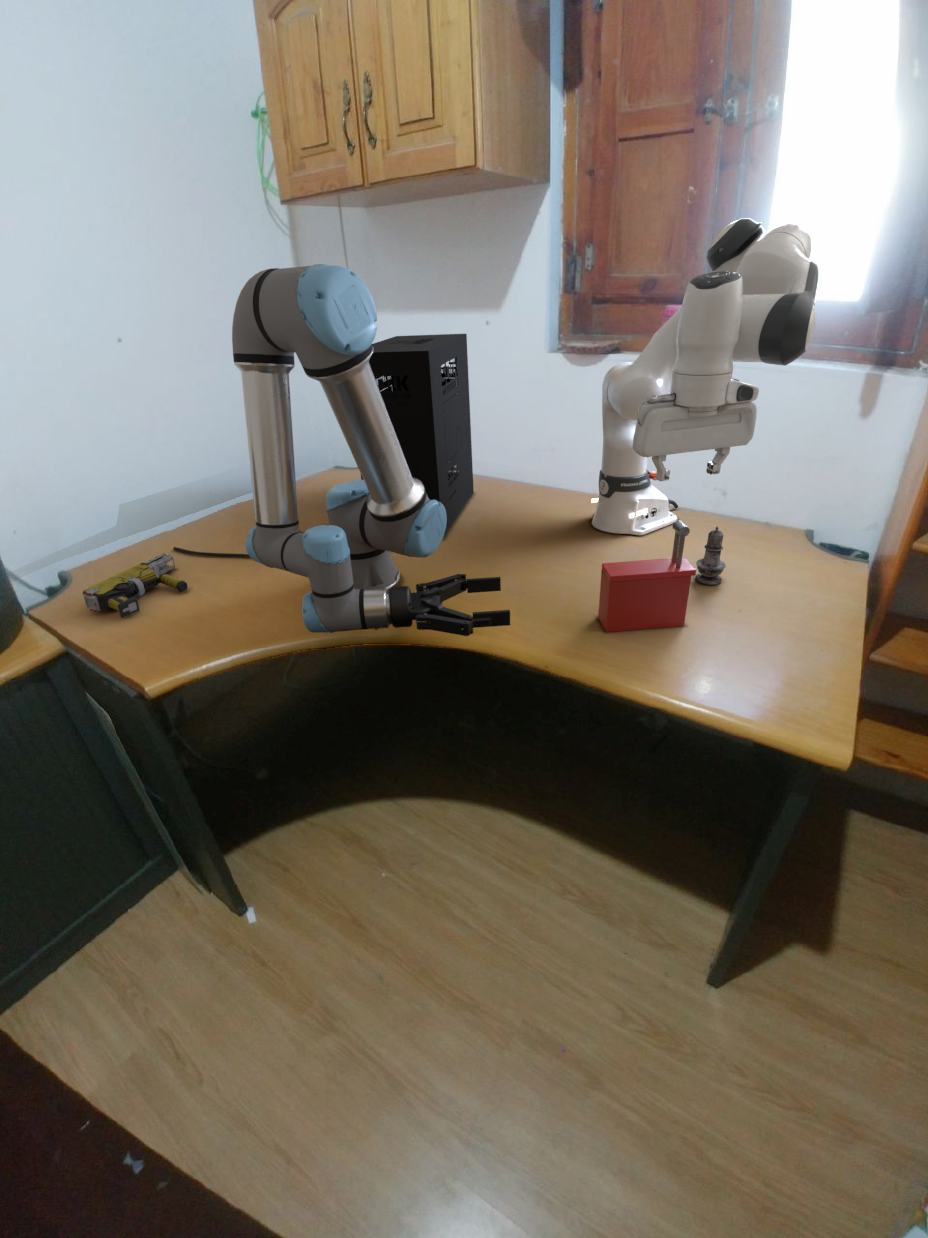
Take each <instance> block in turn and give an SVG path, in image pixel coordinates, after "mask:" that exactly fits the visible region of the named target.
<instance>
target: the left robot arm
mask: <svg viewBox="0 0 928 1238" xmlns="http://www.w3.org/2000/svg"><path fill="white" fill-rule="evenodd" d="M377 321H378V314H377V308H376V304H375V301H374V298H373V296H372V294H371V291H370V289H369V288H368V286H367V285H366V282H364V280H363V279H361V278H360V276H358V274H357V273H355V272H354V271H352V270H350V269H348V268H346V267H344V266H341V265H329V264H325V263H316V264H312V265H304V266H294V267H282V268H280V267H279V268H278V267H276V268H275V267H274V268H266V269H264V270H261V271H259V272H257V273H255V274H254V275H253V276H252V277H250V278H249V279H248V280H247V281H246V282H245V284H244V285H243V287H242V288H241V290H240V293H239V295H238V297H237V299H236V303H235V306H234V312H233V317H232V326H231V342H232V357H233V358H232V359H233V365H234V366H235V367H236V368H237V369H238V370H239V371H240V374H241V383H242V395H243V405H244V415H245V426H246V437H247V449H248V457H249V468H250V478H251V479H250V480H251V489H252V500H253V510H254V521H255V525H254V526H253V527H251V528H250V530H249V531H248V533H247V534H246V535H247V537H246V539H245V543H244V544H245V545H244V546H245V550H246V553H227V552H226V553H223V552H206V551H205V552H204V551H195V550H189V549H184V548H181V547H177V546H173V547H172V549H173V550H174V551H177V552H181V553H185V554H189V555H194V556H195V555H196V556H204V557H205V556H206V557H227V558H251V560H253V562H256V563H257V564H260V565H263V566H265V567H268V568H270V569H273V568H274V569H278V570H280V571H281V570H282V571H285V572H289V573H292V574H295V575H298V576H302V577H305V578H307V579H309V584H310V590H311V591H310V592H306V593H305V594H304V595H303V597H302V601H301V611H302V621H303V624H304V627H305V629H306V630H307V631H309V632H310V633H314V634H319V633H322V634H325V633H326V634H334V633H339V632H351V631H366V630H375V631H378V630H379V629H389V628H390V627H393V628H394V629H398V628H399V629H400V628H410V627H412V626H413V624H414V621H415V625H416V629H417V630H418V631H426V630H427V631H434V632H440V633H445V634H452V635H457V636H463V637H469V636H471V635H473V634H474V629H477V628H478V629H479V628H491V627H506V626H507V627H508V626H511V610H510V609H502V610H501V609H499V610H486V611H485V610H483V611H473V612H472V613H471V614H467V613H465V612H461V611H458V610H455V609H453V608H449V607H446V606H444V605H443V602H446V601H447V600H450V599H451V598H453V597H456V596H458V595H459V594H462V593H464V592H466V591H467V594H476V593H490V592H501V591H502V581H501V580H502V578H501V576H491V577H474V578H467V574H466V573H456V574H452V575H450V576H446V577H443V578H439V579H436V580H432V581H429V582H423V583H417V584H415V592H412V590H411V588H410V586H408V585H403V586H399V585H400V583H401V570H399V569H398V567H397V565H396V562H395V561H394V558H393V556H392V554H391V553H393V554H398V555H402V556H406V557H408V558H418V559H419V558H420V559H425V558H428V557H429V556H431V555H433V554H434V553H435V552H436V551H437V549H438V548H439V546H440V545H441V544H442V541H443V539H444V538H443V536H444V532H445V529H446V523H447V516H446V510H445V508H444V506H443V504H442V503H440V502H438V501H437V500H434V499H433V500H430V499H429V498H428V496H427V494H426V491H425V488H424V485H423V484H422V482H421V481H420V480H418V479H416V478H413V477H412V476H411V473H410V470H409V468H408V465H407V462H406V460H405V457H404V454H403V452H402V449H401V446H400V444H399V441H398V439H397V436H396V433H395V431H394V428H393V425H392V423H391V420H390V417H389V415H388V412H387V409H386V407H385V404H384V401H383V399H382V396H381V393H380V391H379V388H378V385H377V383H378V382H377V379H376V380H375V377H374V375H373V372H372V369H371V367H370V364H369V360H370V357H371V355H372V353H373V350H374V349H373V345H372V344H373V343H374V341H375V339H376V335H377V330H378V327H377V325H376V324H375V323H376V322H377ZM295 355H296V357H297V359H298V361H299V363H300V365H301V368H302V369H303V371H304V374H305V375H306V377H308V378H310V379H312V380H315V381H317V382H319V384H320V386H321V388H322V390H323V393H324V394H325V397H326V399H327V401H328V403H329V406H330V408H331V410H332V412H333V414H334V417H335V419H336V422H337V423H338V425H339V428H340V431H341V433H342V434H343V437H344V439H345V442H346V444H347V446H348V448H349V450H350V453H351V455H352V457H353V459H354V461H355V464H356V466H357V468H358V471H359V472H360V473H359V474H360V476H361V475H362V477H363V479H364V480H361V479H358V480H357V479H356V480H351V481H347V482H343V483H340V484H337V485H335V486H333V487H331V488H330V489H329V490H328V491H326V494H325V505H326V508H325V511H326V514H327V520H328V525H326V524H321V525H316V526H311V527H310V528H308V529H306V530H305V531H304V532H300V526H299V525H300V522H298V521H299V513H298V497H297V483H296V482H297V481H296V480H297V479H296V467H295V466H296V465H295V451H294V447H295V446H294V436H293V435H294V433H293V416H292V402H291V386H290V374H291V372H292V371H293V369H294V368H295V367H296V366H295V365H296V364H295ZM444 537H445V536H444ZM391 625H392V626H391Z"/></svg>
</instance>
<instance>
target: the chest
mask: <svg viewBox="0 0 928 1238" xmlns="http://www.w3.org/2000/svg"><path fill="white" fill-rule="evenodd" d="M600 571H601V572H600V573H601V574H600V585H599V586H600V587H599V601H598V614H597V617H598V619H599V622H600V623H601V625H602V627H603V629H604V631H605V632H606V633H609V632H610V633H611V632H622V631H623V632H624V631H635V630H648V629H660V628H662V629H663V628H671V627H673V628H674V627H683V626H685V620H686V614H687V607H688V601H689V596H690V595H689V594H690V589H691V582H692V576H684V577H670V578H657V579H644V580H631V581H618V582H610V581H609V579H608V578H607V576H606V575H605V573H604V572H603V570H602V569H601V570H600Z"/></svg>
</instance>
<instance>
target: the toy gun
mask: <svg viewBox="0 0 928 1238" xmlns="http://www.w3.org/2000/svg"><path fill="white" fill-rule="evenodd" d="M171 561H172V564H173V565H170V564H168V563H170V562H171ZM175 569H176V563H175V559H174V556H173V555H172V554H167V553H165V552H164V553H161V554H160V555H158V556H155V557H154V558H151V559H148V560H147V561H145V562H141V563H139V564H136V565H134V566H133V567H130V568H128V569H126V570H124V571H122V572H120V573H117V574H115V575H113V576H111V577H109V578H107V579H105V580H103V581H100V582H99V583H96V584H93V585H92V586H89V587H88V588H85V589H84V590H83V591H82V593H81V594H82V596H83V599H84V603H85V606H86V608H87V609H88V610H89V611H90V612H93V613H96V612H108V611H111V610H115V611H117V612H118V613H119V616H120V618H122V619H125V618H126V617H129V616H131V615H134V614H136V613H138V612H140V611H141V610H140V605H139V601H138V599H139V598H141V597H143V596H145V594H146V591H148V590H150V589H153V588H155V587H158V586H159V584H162V585H164V586H165V587H166V586H167V587H169V588H171V589H173V590H177V591H178V592H180V593H183V592H186V591H187V590H188V583H187V582H186V581H185V580H180V579H179V578H176V577H174V576H171V575H169V574H167V573H168V572H170V571H172V570H175Z"/></svg>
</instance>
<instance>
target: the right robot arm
mask: <svg viewBox="0 0 928 1238" xmlns="http://www.w3.org/2000/svg"><path fill="white" fill-rule="evenodd" d="M762 225H763V222H761V221H758V222H757V221H755V220H753V219H752V218H750V217H740V218H738V219H737V220H735V221H732V222H730V223H729V224H727V225H726V226H725V227H723V228H722V229H721V230H720V231H719V232H718V233H717V235H716V236H715V237H714V238H713V240H712V242H711V245H710V247H709V249H708V250H707V254H706V261H707V263H708V266H709V268H710V270H711V271H712V272H709V273H702V274H699V275H697V276H695V277H693V278H691V280H689V281H688V282H687V285H686V288H685V290H684V291H685V292H684V295H683V299H682V304H681V306H680V308H678V309H677V310H676V312H675V313H674V314H673V315H671V317H669V319H667V320H666V321H665V322H664V323H663V324H662V326H661V327H660V328H659V329H658V330H656V331H655V333H653V335H652V336H651V339H650V341H649V342H648V343H647V345H646V346H645V348H644V349H643V350H642V352H641V353H640V354H639V355H638V356H637V358H635V360H634V361H633V362H629V361H626V362H621V363H617V364H616V365H613V366H612V367H611V368H610V369H608V370H607V372H606V373H605V375H604V377H603V380H602V386H601V387H602V388H601V390H602V391H601V392H602V393H601V397H602V398H601V413H602V414H601V416H602V417H601V418H602V419H601V420H602V453H601V468H600V470H599V474H598V492H599V493H598V497H596V498H591V499H590V501H591V502H590V503H591V504H594V503H596V507H595V511H594V514H593V517H592V520H591V525H592V526H593V527H594V528H595V529H597V530H599V531H601V532H605V533H611V534H623V535H625V534H626V535H632V536H633V535H634V536H645V535H646V534H650V533H652V532H654V531H657V530H660V529H662V528H665V527H668V526H670V525H673V523H674V522H675V521H678V516H677V515H676V514H675V513H674V512H672V511H670V505H672V506H673V507H674V508H675V509H678V508H679V505H678V504H677V502H676V501H675V500H672V499H670V498H668V497H667V496H666V495H665V494H664V493H663V492H661V491H660V490H659V489H658V488H656V487H655V486H654V485H652V483H651V480H653V481H658V482H666V481H669V480H670V475H671V470H670V469H669V468H668V469H667V467H666V466H665V465H664V462H666V461H667V456H669V455H678V454H684V453H685V454H686V453H693V452H701V451H710V450H714V451H715V452H716V453H715V455H714V456H713V458H712V460H711V461H708V462H707V463H706V469H705V470H706V474H709V475H710V476H711V475H718V474H720V473H721V468H722V464H723V463H724V462H725V460H726V459H727V457H728V456H729V455H730V453H731V452H730V451H731V448H733V447H741V446H747V445H748V444H749V443H750V442H751V441H752V440H753V437H754V434H755V429H756V423H757V414H758V413H757V411H758V408H757V405H756V402H754V401H756V400H757V399H758V396H759V392H760V389H759V387H758V386H757V385H754V384H750V383H747V382H743V381H740V380H739V379H737V378H733V373H734V362H736V363H763V364H769V365H775V366H776V365H777V366H783V367H784V366H788V365H789V364H791V363H792V362H794V361H796V360H797V359H799V358H800V357H801V356H802V355H804V354H805V353H806V352H807V349H808V347H810V344H811V342H812V340H813V337H814V335H815V334H814V333H815V329H816V323H817V313H816V308H815V307H816V302H817V295H818V290H819V277H820V270H819V266H818V264H817V263H815V262H814V261H812V260H811V259H812V256H813V251H814V238H813V235H812V232H811V231H810V229H809V228H808V226H806V225H805V224H803V223H801V222H798V221H785V222H782V223H779V224H777V225H775V226H773V227H771V228H769V229H768V230H767V231H766V230H765V229H764V227H763V226H762ZM648 458H651V460H652V461H651V462H652V463H653V465H654V467H655V469H656V471H654V470H651V471H649V470H648V469H647V466H648Z"/></svg>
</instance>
